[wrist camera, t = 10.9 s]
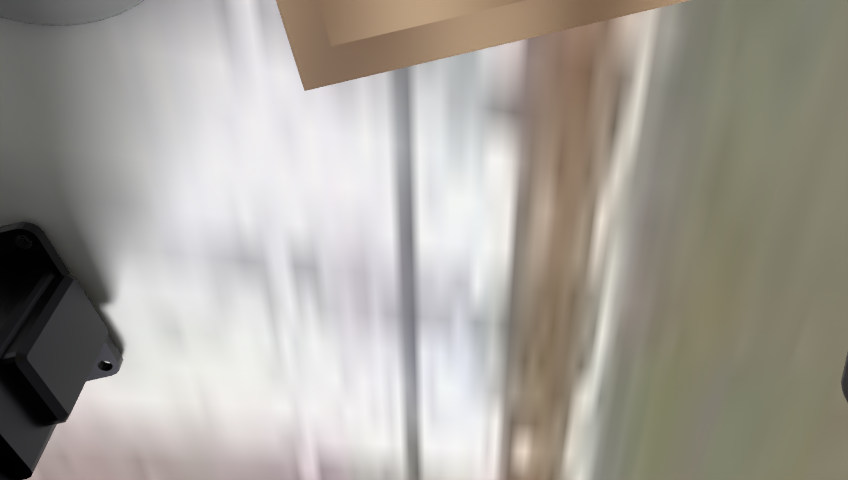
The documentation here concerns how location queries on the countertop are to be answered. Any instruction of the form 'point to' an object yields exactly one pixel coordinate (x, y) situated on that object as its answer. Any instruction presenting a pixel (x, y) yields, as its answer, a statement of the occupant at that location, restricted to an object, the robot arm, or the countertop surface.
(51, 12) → the grey coaster
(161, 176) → the countertop surface
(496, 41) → the walnut stand
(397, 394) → the countertop surface
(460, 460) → the countertop surface
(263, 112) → the countertop surface
